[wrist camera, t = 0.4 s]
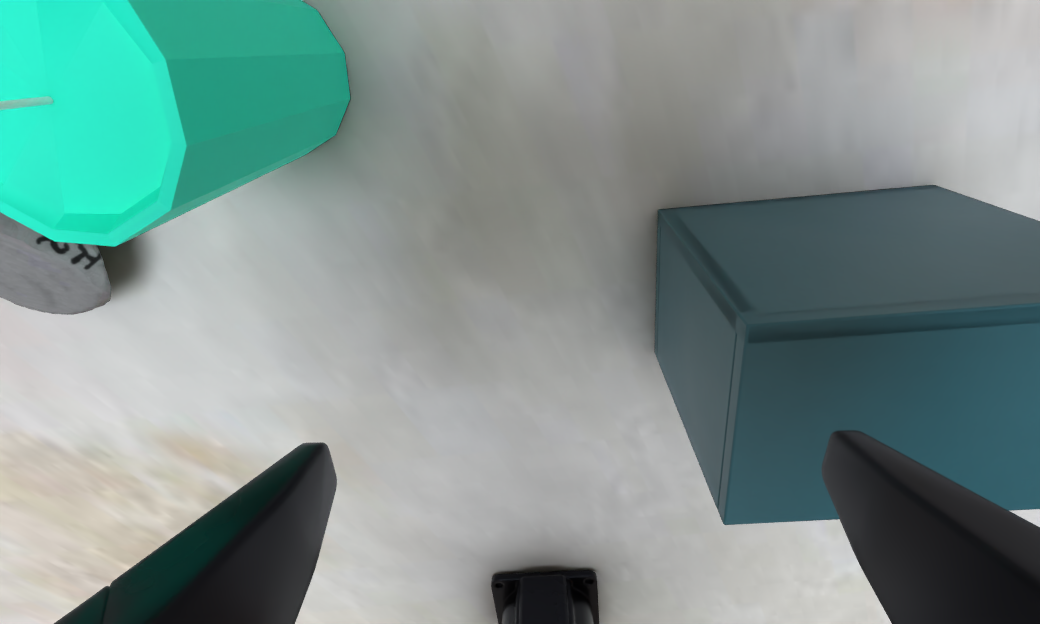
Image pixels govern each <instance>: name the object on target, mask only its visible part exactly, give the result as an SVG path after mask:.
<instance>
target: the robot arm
mask: <svg viewBox="0 0 1040 624" xmlns="http://www.w3.org/2000/svg"><path fill="white" fill-rule="evenodd" d="M821 472H822V477H823V481H824V483H825V486H826V488H827V490H828V493H829V495H830V497H831V500H832V502H833V504H834V507H835V509H836V511H837V514H838V516H839V518H840V521H841V523H842V526H843V528H844V530H845V533H846V535H847V537H848V540H849V542H850V544H851V547H852V549H853V551H854V553H855V556H856V558H857V560H858V562H859V564H860V566H861V568H862V570H863V572H864V574H865V575H866V577H867V579H868V581H869V583H870V585H871V586H872V588H873V590H874V592H875V594H876V595H877V597H878V599H879V601H880V603H881V605H882V606H883V608H884V610H885V612H886V614H887V615H888V617H889V619H890V621H891V623H892V624H1040V527H1038V526H1036V525H1034V524H1032V523H1030V522H1028V521H1027V520H1025V519H1023V518H1021V517H1019V516H1017V515H1015V514H1014V513H1012V512H1010V511H1008V510H1006V509H1004V508H1002V507H1001V506H999V505H997V504H995V503H993V502H991V501H989V500H988V499H986V498H984V497H982V496H980V495H978V494H976V493H975V492H973V491H971V490H969V489H967V488H965V487H964V486H962V485H960V484H958V483H956V482H954V481H952V480H951V479H949V478H947V477H945V476H943V475H941V474H939V473H938V472H936V471H934V470H932V469H930V468H928V467H926V466H925V465H923V464H921V463H919V462H917V461H915V460H913V459H912V458H910V457H908V456H906V455H904V454H902V453H900V452H899V451H897V450H895V449H893V448H891V447H889V446H887V445H886V444H884V443H882V442H880V441H878V440H876V439H874V438H873V437H871V436H869V435H867V434H865V433H863V432H861V431H858V430H838V431H834V432H833V433H832V434H831V435H830V438H829V441H828V444H827V448H826V452H825V455H824V459H823V462H822V468H821ZM336 486H337V478H336V473H335V469H334V466H333V462H332V458H331V455H330V451H329V448H328V446H327V445H326V444H325V443H303V444H301V445H300V446H298V447H297V448H295V449H294V450H293V451H291V452H290V453H288V454H287V455H286V456H284V457H283V458H282V459H280V460H279V461H277V462H276V463H275V464H273V465H272V466H271V467H269V468H268V469H266V470H265V471H264V472H262V473H261V474H260V475H258V476H257V477H255V478H254V479H253V480H251V481H250V482H249V483H247V484H246V485H244V486H243V487H242V488H240V489H239V490H238V491H236V492H235V493H233V494H232V495H231V496H229V497H228V498H227V499H225V500H224V501H222V502H221V503H220V504H218V505H217V506H216V507H214V508H213V509H211V510H210V511H209V512H207V513H206V514H205V515H203V516H202V517H201V518H199V519H198V520H196V521H195V522H194V523H192V524H191V525H190V526H188V527H187V528H185V529H184V530H183V531H181V532H180V533H179V534H177V535H176V536H174V537H173V538H172V539H170V540H169V541H168V542H166V543H165V544H163V545H162V546H161V547H159V548H158V549H157V550H155V551H154V552H152V553H151V554H150V555H148V556H147V557H146V558H144V559H143V560H141V561H140V562H139V563H137V564H136V565H135V566H133V567H132V568H130V569H129V570H128V571H126V572H125V573H124V574H122V575H121V576H119V577H118V578H117V579H115V580H114V581H113V582H112V583H111V585H110V586H106V587H104V588H103V589H101V590H100V591H99V592H97V593H96V594H95V595H93V596H92V597H90V598H89V599H88V600H86V601H85V602H84V603H82V604H81V605H79V606H78V607H77V608H75V609H74V610H72V611H71V612H69V613H68V614H67V615H65V616H64V617H62V618H61V619H60V620H58V621H57V622H55V623H54V624H295V622H296V619H297V616H298V614H299V611H300V608H301V606H302V603H303V600H304V598H305V595H306V592H307V590H308V587H309V585H310V582H311V579H312V576H313V573H314V570H315V567H316V563H317V560H318V557H319V553H320V549H321V545H322V541H323V537H324V534H325V530H326V526H327V522H328V518H329V514H330V511H331V507H332V503H333V499H334V495H335V491H336ZM491 587H492V592H493V597H494V603H495V608H496V613H497V618H498V623H499V624H599V611H598V590H597V576H596V573H595V572H593V571H590V570H584V571H562V572H541V573H519V574H498V575H495V576H493V577H492V584H491Z"/></svg>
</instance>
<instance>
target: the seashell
mask: <svg viewBox="0 0 1040 624" xmlns="http://www.w3.org/2000/svg"><path fill="white" fill-rule="evenodd" d="M110 296H111V285H110V282H109V279H108V274H107V272H106V270H105V266H104V263H103V259H102V256H101V254H100V251H99V249H98V247H97V246H96V245H90V244H78V243H66V242H55V241H53V240H51V239H49V238H47V237H45V236H44V235H42V234H40V233H38V232H36V231H34V230H32V229H31V228H29V227H27V226H25V225H23V224H21V223H19V222H17V221H16V220H14V219H12V218H10V217H8V216H6V215H4V214H3V213H1V212H0V297H1V298H4V299H6V300H9V301H11V302H13V303H14V304H17V305H19V306H23V307H26V308H29V309H34V310H37V311H41V312H47V313H52V314H77V313H83V312H86V311H90V310H92V309H94V308H97V307H100V306H103V305H105V304H106V303H107V302H109V301H110Z"/></svg>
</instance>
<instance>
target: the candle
mask: <svg viewBox="0 0 1040 624" xmlns="http://www.w3.org/2000/svg"><path fill="white" fill-rule="evenodd" d="M349 101H350V91H349V83H348V75H347V68H346V60H345V53H344V51H343V50H342V48H341V47H340V45H339V43H338V42H337V40H336V39H335V37H334V36H333V34H332V33H331V31H330V29H329V28H328V26H327V25H326V23H325V22H324V20H323V19H322V17H321V15H320V14H319V12H318V11H317V10H316V9H314V8H313V7H311V6H309V5H308V4H306V3H305V2H303V1H301V0H0V212H1V213H3V214H4V215H6V216H8V217H10V218H12V219H14V220H16V221H17V222H19V223H21V224H23V225H25V226H27V227H29V228H31V229H32V230H34V231H36V232H38V233H40V234H42V235H44V236H45V237H47V238H49V239H51V240H53V241H55V242H66V243H78V244H90V245H102V246H114V247H116V246H118V245H120V244H122V243H124V242H126V241H128V240H130V239H132V238H134V237H136V236H138V235H140V234H143V233H145V232H147V231H149V230H151V229H153V228H155V227H157V226H159V225H161V224H163V223H165V222H167V221H169V220H172V219H174V218H176V217H178V216H180V215H182V214H184V213H186V212H188V211H190V210H192V209H194V208H196V207H198V206H201V205H203V204H205V203H207V202H209V201H211V200H213V199H215V198H217V197H219V196H221V195H223V194H225V193H227V192H230V191H232V190H234V189H236V188H238V187H240V186H242V185H244V184H246V183H248V182H250V181H252V180H254V179H256V178H259V177H261V176H263V175H265V174H267V173H269V172H271V171H273V170H275V169H277V168H279V167H281V166H283V165H285V164H288V163H290V162H292V161H294V160H296V159H298V158H300V157H302V156H304V155H306V154H307V153H309V152H311V151H312V150H314V149H315V148H317V147H318V146H320V145H321V144H323V143H324V142H326V141H327V140H329V139H330V138H332V137H333V136H335V135H336V133H337V131H338V128H339V126H340V123H341V121H342V118H343V116H344V113H345V111H346V108H347V106H348V103H349Z"/></svg>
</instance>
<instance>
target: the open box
mask: <svg viewBox="0 0 1040 624" xmlns="http://www.w3.org/2000/svg"><path fill="white" fill-rule="evenodd" d="M655 354H656V357H657V360H658V362H659V365H660V367H661V370H662V372H663V375H664V377H665V380H666V382H667V385H668V387H669V390H670V392H671V395H672V397H673V400H674V402H675V405H676V407H677V410H678V412H679V415H680V417H681V420H682V422H683V425H684V427H685V430H686V432H687V435H688V437H689V440H690V442H691V445H692V447H693V450H694V452H695V455H696V457H697V460H698V462H699V465H700V467H701V470H702V472H703V475H704V477H705V480H706V482H707V485H708V487H709V490H710V492H711V495H712V497H713V500H714V502H715V505H716V507H717V509H718V512H719V514H720V517H721V519H722V522H723V524H724V525H734V524H754V523H773V522H793V521H813V520H832V519H840V518H839V516H838V514H837V511H836V509H835V507H834V504H833V502H832V500H831V497H830V495H829V493H828V490H827V488H826V486H825V483H824V481H823V477H822V472H821V468H822V462H823V459H824V455H825V452H826V448H827V444H828V441H829V438H830V435H831V434H832V433H833V432H834V431H838V430H858V431H861V432H863V433H865V434H867V435H869V436H871V437H873V438H874V439H876V440H878V441H880V442H882V443H884V444H886V445H887V446H889V447H891V448H893V449H895V450H897V451H899V452H900V453H902V454H904V455H906V456H908V457H910V458H912V459H913V460H915V461H917V462H919V463H921V464H923V465H925V466H926V467H928V468H930V469H932V470H934V471H936V472H938V473H939V474H941V475H943V476H945V477H947V478H949V479H951V480H952V481H954V482H956V483H958V484H960V485H962V486H964V487H965V488H967V489H969V490H971V491H973V492H975V493H976V494H978V495H980V496H982V497H984V498H986V499H988V500H989V501H991V502H993V503H995V504H997V505H999V506H1001V507H1002V508H1004V509H1006V510H1008V511H1009V510H1029V509H1040V221H1037V220H1034V219H1031V218H1029V217H1026V216H1023V215H1020V214H1017V213H1014V212H1011V211H1008V210H1005V209H1002V208H1000V207H997V206H994V205H991V204H988V203H985V202H982V201H979V200H976V199H974V198H971V197H968V196H965V195H962V194H959V193H956V192H953V191H950V190H947V189H945V188H942V187H939V186H936V185H928V186H917V187H906V188H894V189H883V190H872V191H861V192H850V193H838V194H827V195H816V196H805V197H794V198H783V199H771V200H760V201H749V202H738V203H727V204H715V205H704V206H693V207H682V208H671V209H659V210H658V230H657V272H656V313H655Z"/></svg>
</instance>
